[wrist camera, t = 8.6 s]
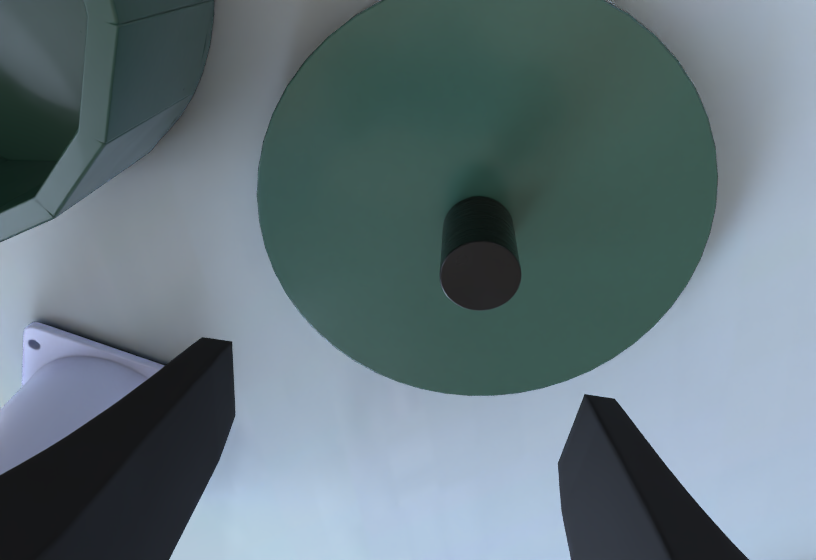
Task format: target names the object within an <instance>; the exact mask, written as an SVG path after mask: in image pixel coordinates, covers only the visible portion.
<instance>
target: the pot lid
mask: <svg viewBox="0 0 816 560" xmlns="http://www.w3.org/2000/svg"><path fill="white" fill-rule="evenodd" d="M717 182H718V172H717V161H716V149H715V143H714V140H713V136H712V132H711V128H710V124H709V120H708V116H707V114H706V111H705V109H704V107H703V104H702V102H701V100H700V98H699V95H698V93H697V91H696V88H695V87H694V85H693V83H692V82H691V80H690V79H689V77H688V76H687V74H686V72H685V71H684V69H683V68H682V66H681V65H680V63H679V62H678V60H677V59H676V58H675V57H674V56H673V55H672V53H671V52H670V51H669V50H668V49H667V48H666V47H665V46H664V45H663V43H662V42H661V41H660V40H659V39H658V38H657V37H656V36H655V35H654V34H653V33H652V32H650V31H649V30H648V29H647V28H645V27H644V26H643V25H642V24H640V23H639V22H638V21H637V20H635V19H634V18H633V17H632V16H630V15H629V14H628V13H626V12H624V11H622V10H621V9H619V8H617V7H615V6H614V5H612V4H610V3H608V2H607V1H605V0H381V1H379V2H378V3H376V4H374V5H372V6H371V7H369V8H367V9H365V10H364V11H362V12H360V13H358V14H357V15H355V16H354V17H353V18H351V19H350V20H349V21H348V22H346V23H345V24H344V25H342V26H341V27H340V28H339V29H337V30H336V31H335V32H333V33H332V34H331V35H330V36H328V37H327V38H326V39H325V40H324V41H323V43H322V44H321V45H320V46H319V47H318V48H317V49H316V50H315V51H314V52H313V53H312V54H311V55H310V56H309V57H308V58H307V59H306V60H305V62H304V63H303V64H302V66H301V67H300V69H299V70H298V71H297V73H296V74H295V76H294V77H293V78H292V80H291V81H290V83H289V84H288V85H287V87H286V89H285V91H284V93H283V95H282V97H281V99H280V100H279V102H278V104H277V106H276V108H275V110H274V112H273V114H272V117H271V120H270V123H269V126H268V129H267V132H266V135H265V138H264V141H263V146H262V151H261V156H260V161H259V167H258V182H257V203H258V213H259V223H260V227H261V231H262V236H263V240H264V244H265V248H266V251H267V253H268V256H269V259H270V261H271V264H272V267H273V269H274V272H275V274H276V276H277V277H278V279H279V281H280V283H281V285H282V287H283V289H284V290H285V292H286V294H287V295H288V297H289V298H290V300H291V301H292V302H293V304H294V305H295V307H296V308H297V310H298V311H299V312H300V314H301V315H302V316H303V317H304V318H305V319H306V320H307V321H308V322H309V324H310V325H311V326H312V327H313V328H314V329H315V330H316V331H317V332H318V333H319V334H320V335H321V336H322V337H324V338H325V339H326V340H327V341H328V342H329V343H330V344H332V345H333V346H334V347H335V348H336V349H338V350H339V351H341V352H342V353H344V354H345V355H347V356H348V357H349V358H351V359H352V360H354V361H355V362H357V363H359V364H361V365H363V366H365V367H366V368H368V369H370V370H372V371H374V372H376V373H378V374H380V375H383V376H385V377H387V378H390V379H392V380H395V381H397V382H400V383H403V384H407V385H410V386H413V387H417V388H420V389H425V390H430V391H435V392H440V393H446V394H456V395H467V396H494V395H504V394H514V393H521V392H526V391H531V390H536V389H541V388H545V387H548V386H551V385H554V384H558V383H561V382H564V381H567V380H570V379H572V378H574V377H577V376H579V375H581V374H584V373H586V372H589V371H591V370H593V369H594V368H596V367H598V366H600V365H602V364H603V363H605V362H607V361H609V360H611V359H613V358H614V357H615V356H617V355H618V354H620V353H621V352H623V351H624V350H626V349H627V348H628V347H630V346H631V345H633V344H634V343H635V342H636V341H638V340H639V339H640V338H641V337H642V336H643V335H644V334H645V333H647V332H648V331H649V330H650V329H651V328H652V327H653V326H654V325H655V324H656V323H657V322H658V321H659V320H660V319H661V318H662V317H663V315H664V314H665V313H666V312H667V311H668V310H669V309H670V308H671V307H672V305H673V304H674V302H675V301H676V300H677V298H678V297H679V295H680V294H681V293H682V291H683V290H684V288H685V287H686V285H687V284H688V282H689V280H690V278H691V276H692V275H693V273H694V271H695V269H696V267H697V265H698V263H699V261H700V259H701V256H702V254H703V251H704V248H705V246H706V243H707V240H708V237H709V235H710V231H711V226H712V222H713V217H714V212H715V208H716V197H717Z"/></svg>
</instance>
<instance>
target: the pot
mask: <svg viewBox="0 0 816 560" xmlns="http://www.w3.org/2000/svg"><path fill="white" fill-rule="evenodd" d="M213 17H214V0H0V242H2V241H4V240H7V239H9V238H11V237H13V236H16V235H18V234H20V233H23V232H25V231H27V230H29V229H32V228H34V227H36V226H38V225H41V224H43V223H45V222H48V221H50V220H52V219H54V218H56V217H57V216H59V215H60V214H62V213H63V212H64V211H66V210H67V209H69V208H70V207H72V206H73V205H75V204H76V203H77V202H79V201H80V200H82V199H83V198H85V197H86V196H87V195H89V194H90V193H92V192H93V191H95V190H96V189H98V188H99V187H100V186H102V185H103V184H105V183H106V182H108V181H109V180H110V179H112V178H113V177H115V176H116V175H118V174H119V173H121V172H122V171H123V170H125V169H126V168H128V167H129V166H131V165H132V164H133V163H135V162H136V161H138V160H139V159H141V158H142V157H144V156H145V155H146V154H148V153H149V152H150V151H151V150H152V149H153V148H154V147H155V145H156V144H157V143H158V141H159V140H160V139H161V138H162V137H163V136H164V135H165V134H166V133H167V131H168V130H169V129H170V128H171V127H172V126H173V125H174V124H175V122H176V121H177V120H178V119H179V118H180V116H181V114H182V113H183V111H184V110H185V108H186V106H187V105H188V103H189V102H190V100H191V98H192V97H193V94H194V92H195V91H196V87H197V85H198V83H199V80H200V78H201V76H202V73H203V70H204V66H205V62H206V58H207V55H208V51H209V47H210V41H211V33H212V25H213Z"/></svg>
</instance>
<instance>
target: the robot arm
mask: <svg viewBox="0 0 816 560" xmlns="http://www.w3.org/2000/svg"><path fill="white" fill-rule="evenodd" d="M234 418H235V396H234V374H233V353H232V342H231V341H224V340H218V339H211V338H204V337H202V338H201V339H199V340H198V341H196V342H195V343H194V344H192V345H191V346H190V347H188V348H187V349H186V350H185V351H183V352H182V353H181V354H179V355H178V356H177V357H176V358H174V359H173V360H172V361H171V362H169V363H168V364H167V365H162V364H159V363H156V362H153V361H150V360H147V359H144V358H141V357H138V356H135V355H133V354H130V353H127V352H124V351H121V350H118V349H115V348H112V347H109V346H106V345H103V344H101V343H98V342H95V341H92V340H89V339H86V338H83V337H80V336H77V335H74V334H72V333H69V332H66V331H63V330H60V329H57V328H54V327H51V326H48V325H45V324H42V323H39V322H32V323H30V324H29V325H28V326H27V327H26V328H25V329H24V334H23V364H22V388H21V389H20V390H19V391H18V392H17V393H16V394H15V395H14V396H13V397H12V398H11V399H10V400H9V401H8V402H7V403H6V404H5V405H4V406H3V407H2V408H1V409H0V560H169V559H170V557H171V555H172V553H173V551H174V549H175V547H176V545H177V543H178V541H179V539H180V537H181V535H182V533H183V531H184V529H185V527H186V525H187V523H188V521H189V519H190V517H191V515H192V513H193V511H194V509H195V508H196V506H197V504H198V502H199V500H200V498H201V496H202V494H203V492H204V490H205V488H206V486H207V484H208V482H209V480H210V478H211V476H212V474H213V472H214V470H215V468H216V466H217V464H218V462H219V459H220V457H221V454H222V451H223V449H224V446H225V443H226V441H227V438H228V435H229V432H230V429H231V426H232V423H233V420H234ZM558 471H559V486H560V498H561V509H562V516H563V521H564V526H565V531H566V536H567V541H568V546H569V551H570V556H571V560H749V559H748V558H747V557H746V556H745V555H744V554H743V553H742V552H741V551H740V550H739V549H738V548H737V547H736V546H735V545H734V544H733V543H732V542H731V540H730V539H729V538H728V537H727V536H726V535H725V534H724V533H723V532H722V531H721V529H720V528H719V527H718V526H717V525H716V524H715V523H714V522H713V521H712V519H711V518H710V517H709V516H708V515H707V514H706V513H705V512H704V510H703V509H702V508H701V507H700V506H699V505H698V503H697V502H696V501H695V500H694V499H693V498H692V496H691V495H690V494H689V493H688V492H687V490H686V489H685V488H684V487H683V486H682V484H681V483H680V482H679V481H678V480H677V478H676V477H675V476H674V475H673V473H672V472H671V471H670V470H669V468H668V467H667V466H666V465H665V463H664V462H663V461H662V459H661V458H660V457H659V456H658V454H657V453H656V452H655V451H654V449H653V448H652V447H651V445H650V444H649V443H648V441H647V440H646V439H645V438H644V436H643V435H642V434H641V432H640V431H639V430H638V428H637V427H636V426H635V424H634V423H633V422H632V420H631V419H630V418H629V416H628V415H627V414H626V413H625V411H624V410H623V409H622V407H621V406H620V405H619V404H618V402H617V401H616V400H615V399H613V398H606V397H599V396H593V395H586V394H585V395H584V397H583V400H582V403H581V405H580V408H579V410H578V413H577V416H576V418H575V421H574V423H573V426H572V428H571V431H570V434H569V436H568V439H567V441H566V444H565V447H564V449H563V452H562V454H561V457H560V459H559V462H558Z"/></svg>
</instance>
